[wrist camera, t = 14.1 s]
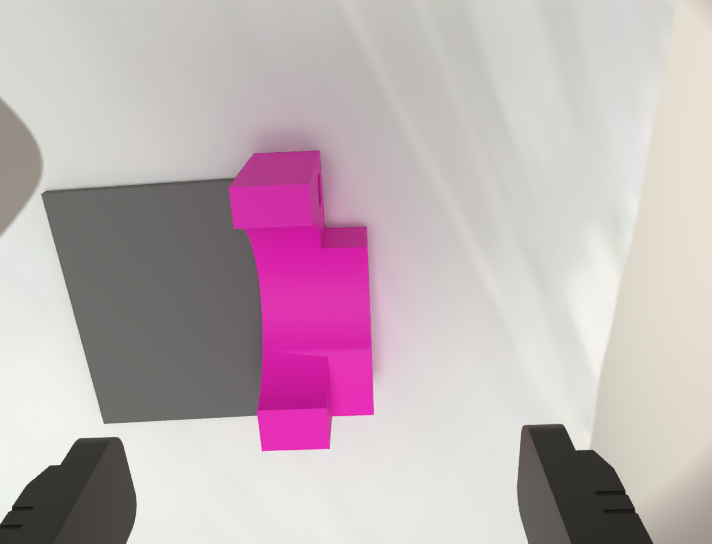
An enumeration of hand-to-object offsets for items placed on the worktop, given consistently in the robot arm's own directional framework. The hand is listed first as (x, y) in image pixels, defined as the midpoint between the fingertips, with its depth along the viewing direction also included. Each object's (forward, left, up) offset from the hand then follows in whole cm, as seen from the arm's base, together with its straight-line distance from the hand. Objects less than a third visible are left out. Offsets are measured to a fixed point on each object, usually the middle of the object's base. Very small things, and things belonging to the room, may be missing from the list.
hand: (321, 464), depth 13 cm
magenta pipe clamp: (+6, -2, -26) cm, 26 cm away
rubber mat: (+8, -12, -25) cm, 29 cm away
